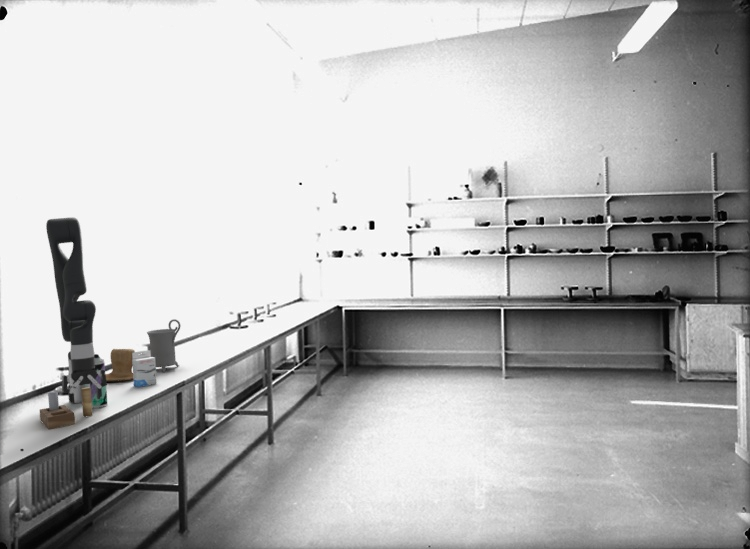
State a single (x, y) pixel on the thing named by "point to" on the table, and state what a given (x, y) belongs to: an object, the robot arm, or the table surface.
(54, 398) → the grey peg
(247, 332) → the table surface
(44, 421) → the walnut block
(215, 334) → the table surface
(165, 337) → the mug
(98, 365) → the spray can
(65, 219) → the robot arm
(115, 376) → the tan ankle boot
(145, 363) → the ink box
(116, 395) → the table surface
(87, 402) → the oak peg
